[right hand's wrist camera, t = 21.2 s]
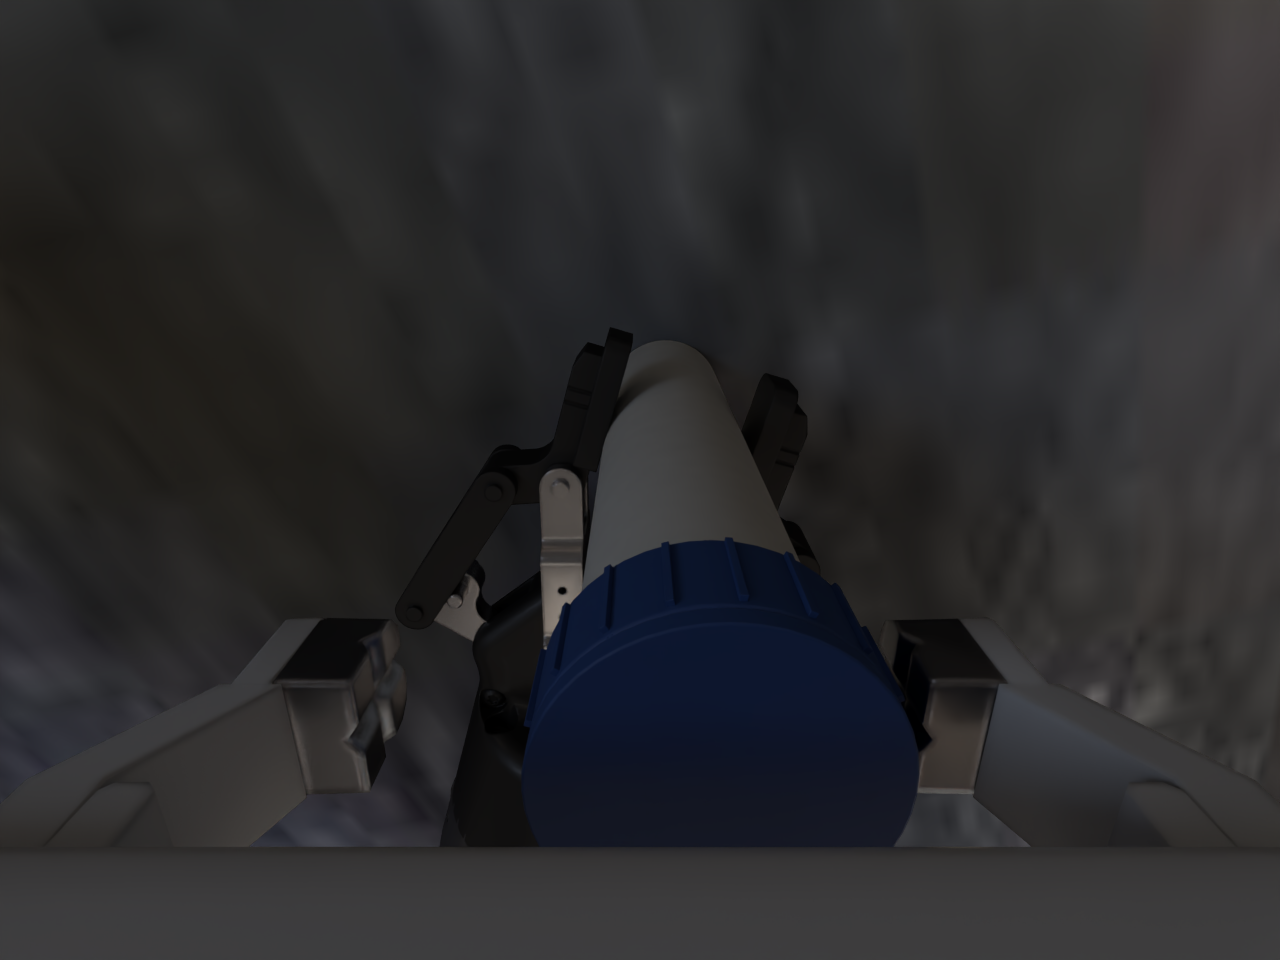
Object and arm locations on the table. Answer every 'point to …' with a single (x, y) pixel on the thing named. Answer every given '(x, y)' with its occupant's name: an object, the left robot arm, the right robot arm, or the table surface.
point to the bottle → (676, 465)
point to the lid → (715, 711)
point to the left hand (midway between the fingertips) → (700, 361)
